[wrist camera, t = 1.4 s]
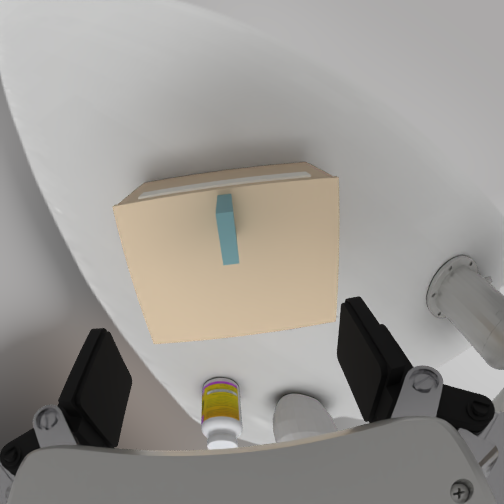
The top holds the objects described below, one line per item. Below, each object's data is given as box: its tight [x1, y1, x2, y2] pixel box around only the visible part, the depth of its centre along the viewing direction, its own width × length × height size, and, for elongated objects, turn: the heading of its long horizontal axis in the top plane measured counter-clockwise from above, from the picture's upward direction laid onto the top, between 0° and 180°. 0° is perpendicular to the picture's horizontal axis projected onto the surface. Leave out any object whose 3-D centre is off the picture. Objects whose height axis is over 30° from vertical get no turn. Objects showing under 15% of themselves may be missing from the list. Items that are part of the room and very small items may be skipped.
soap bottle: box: [273, 394, 338, 443], centre depth 42 cm, size 14×9×26 cm, turn 55°
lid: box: [113, 176, 339, 344], centre depth 27 cm, size 21×16×6 cm
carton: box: [119, 162, 333, 204], centre depth 34 cm, size 20×16×10 cm
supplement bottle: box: [201, 378, 242, 450], centre depth 45 cm, size 7×7×13 cm
